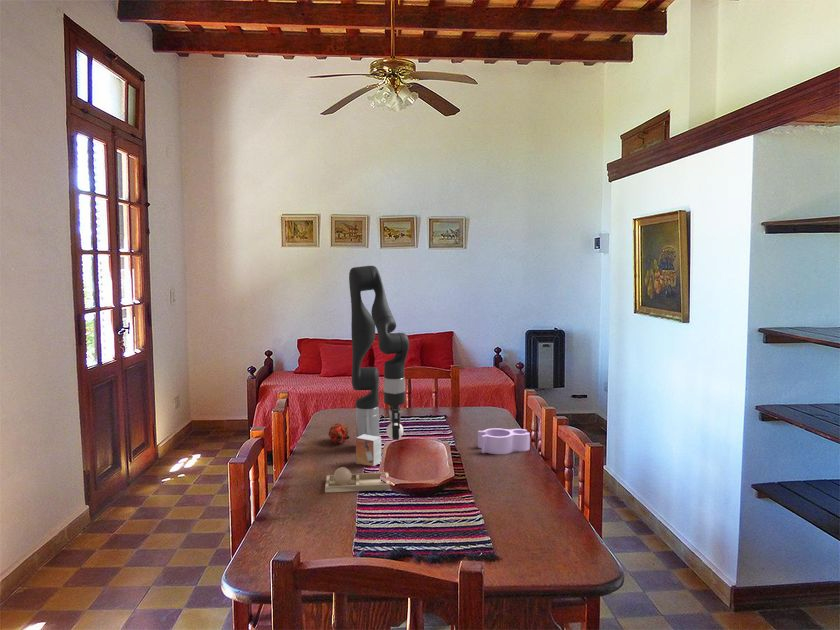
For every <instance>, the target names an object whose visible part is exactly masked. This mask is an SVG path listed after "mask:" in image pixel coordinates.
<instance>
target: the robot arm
mask: <svg viewBox="0 0 840 630" xmlns="http://www.w3.org/2000/svg"><path fill="white" fill-rule="evenodd" d="M348 283H349V285H348V286H349V293H350V296H349V297H350V303H351V305H350V306H351V322H350V323H351V347H352V357H351V358H352V359H351V360H352V361H351V362H352V363H351V364H352V366H351V387H352V389H353V390H354V391H369V392H368V393H367V394H365V395H364V396H362V397H359V398H357V399H356V401H355V420H356V424H355V426H356V427H355V428H356V429H355V430H356V438H357V437H359V436H361V435H363V434H366V435H371V436H378V437H380V410H379V408H380V405H379V400H380V399H379V390H380V389H379V384H380V373H379V368H377V367H375V366H367V367H366V366H365V367H361V364H362V362H363V359H364V358H365V356H366V354H367V352H369V349H370V348H371V346H372V345H373V344H374V341H375V339H376V333H377V337H378V340H377V341H378V348H379V350H380V352H381V353H382V354H383V355H391V354H394V357H393V358H391V359H388V360H386V361H385V362H384V366H383V368H384V369H383V373H384V377H383V378H384V379H383V403H384V404H385V405H387V406H389V407H388V413H389V420H390V421H389V423H392V438H393V439H392V440H393V441H397V440H398V441H399V439H400V438H399V429H400V424H401V413H402V410H401V407H400V406H401V405H404V404H405V403H406V380H405V379H406V378H405V364H406V360H407V356H408V352H409V349H410V340H409V337H408V335H407V334H406V333H405V332H397V333H396V332H394V331H395V330H396V328H397V323H396V320H395V318H394V315H393V313H392V311H391V309H390V306H389V303H388V300H387V295H386V293H385V288H384V284H383V281H382V276H381V273H380V271H379V269H378V267H376V266H374V265H364V266H363V265H362V266H354V267H351V268H350V269H349V274H348ZM364 291H365V292H367V291H374V294H375V295H374V301H373V303H372V305H371V306H372V307H371V313H370V311H369V310H368V309H367V307H366V306H365V304H364V302H363V299H362V295H361V292H364ZM393 332H394V333H393ZM394 423H398V425H397V426H394Z"/></svg>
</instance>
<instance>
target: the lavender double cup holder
mask: <svg viewBox="0 0 840 630" xmlns="http://www.w3.org/2000/svg"><path fill="white" fill-rule="evenodd" d="M530 434H531V433H530V432H529V431H528V429H523V428H513V429H512V428H511V429H509V428H508V429H505V428H500V427H499V428H498V427H497V428H496V427H495V428H487V429H484V430H478V431H477V448H479V449H481V454H486V453H488V454H491V455H492V454H493V455H508V454H510V453H514V452H527V451H529V450H530V448H531V443H530V442H531V437H530V436H531V435H530Z"/></svg>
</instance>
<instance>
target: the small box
mask: <svg viewBox="0 0 840 630" xmlns="http://www.w3.org/2000/svg"><path fill="white" fill-rule="evenodd" d="M380 462H381V463H382V437H381V436H379V437H378V436H371V435H366V434H363V435H361V436H359V437H357V436H356V437H355V464H356V465H363V466H364V465H365V466H370V467H376V466H377V465H379V464H381V463H380Z"/></svg>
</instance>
